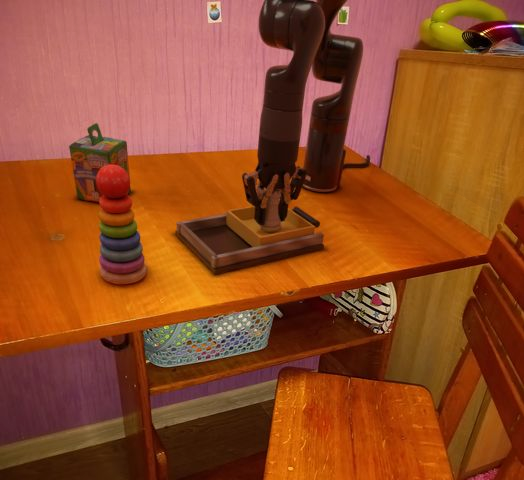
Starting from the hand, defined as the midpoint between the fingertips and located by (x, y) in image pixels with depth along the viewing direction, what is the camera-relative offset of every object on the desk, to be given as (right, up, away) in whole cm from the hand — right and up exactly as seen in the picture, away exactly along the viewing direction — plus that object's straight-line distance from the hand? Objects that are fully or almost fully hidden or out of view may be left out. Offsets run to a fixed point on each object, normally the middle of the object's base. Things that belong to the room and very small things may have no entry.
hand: (270, 221), depth 99 cm
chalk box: (-37, +9, +12) cm, 40 cm away
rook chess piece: (0, -1, +1) cm, 1 cm away
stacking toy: (-26, -13, -13) cm, 32 cm away
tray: (+1, -1, +2) cm, 3 cm away
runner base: (-4, -4, 0) cm, 6 cm away
